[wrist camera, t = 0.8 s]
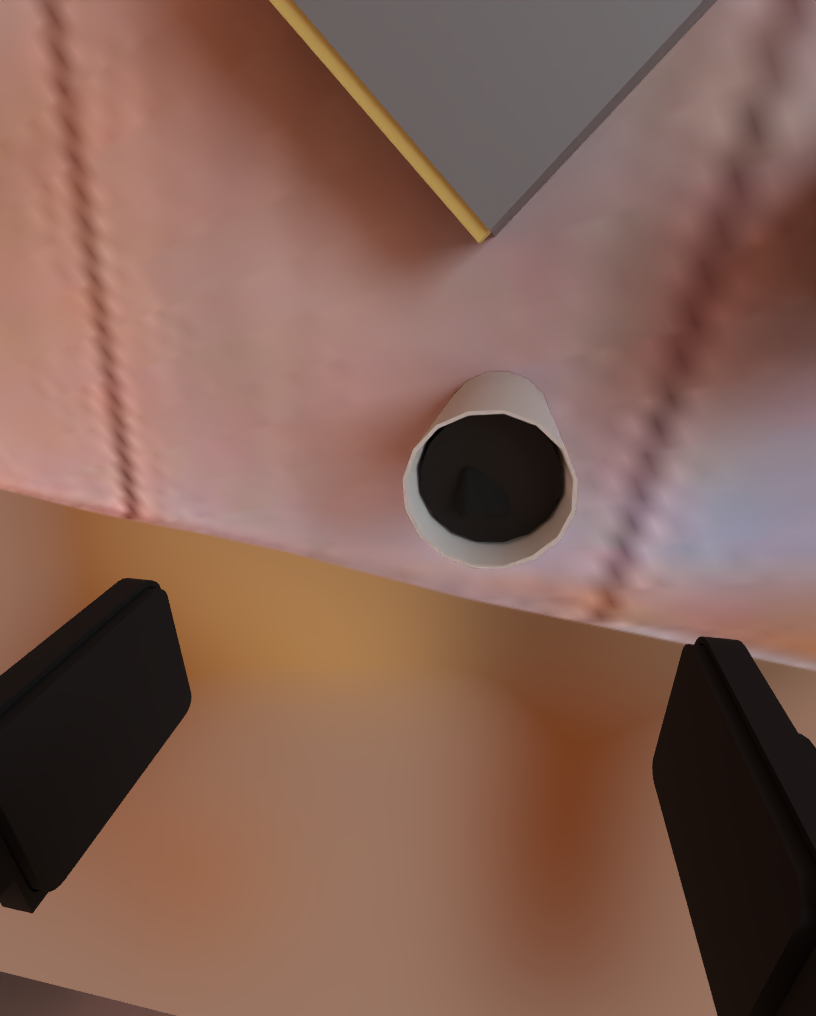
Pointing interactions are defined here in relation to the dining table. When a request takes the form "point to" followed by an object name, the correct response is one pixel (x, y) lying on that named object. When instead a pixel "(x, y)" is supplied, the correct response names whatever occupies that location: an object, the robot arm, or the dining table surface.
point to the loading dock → (489, 82)
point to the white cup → (491, 476)
